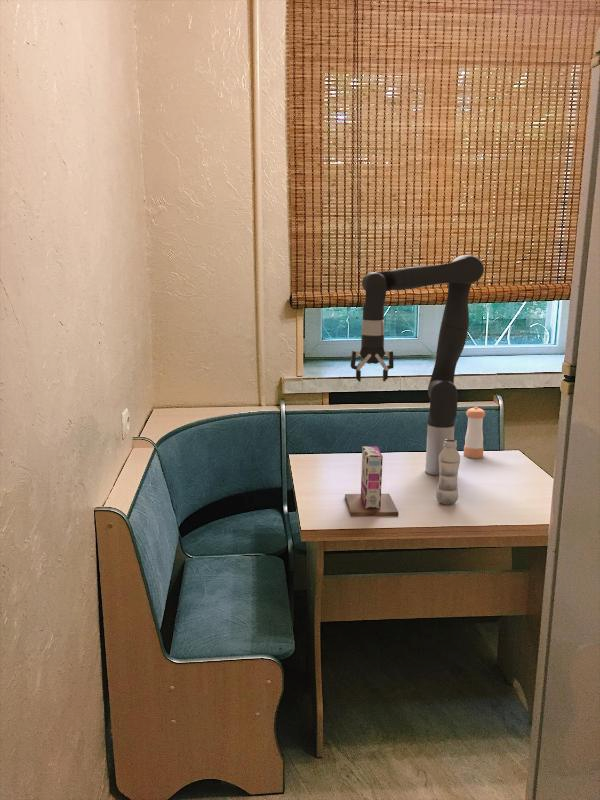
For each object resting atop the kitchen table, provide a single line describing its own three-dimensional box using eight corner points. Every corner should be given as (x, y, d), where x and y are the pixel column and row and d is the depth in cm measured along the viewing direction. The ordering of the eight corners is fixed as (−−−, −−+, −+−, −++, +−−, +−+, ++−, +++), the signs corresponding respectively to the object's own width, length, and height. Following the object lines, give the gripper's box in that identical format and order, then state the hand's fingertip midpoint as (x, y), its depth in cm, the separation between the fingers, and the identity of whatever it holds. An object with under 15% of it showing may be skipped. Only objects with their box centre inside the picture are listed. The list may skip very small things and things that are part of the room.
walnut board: (388, 497, 221) (389, 493, 221) (398, 515, 206) (398, 511, 205) (344, 497, 220) (344, 494, 220) (350, 516, 205) (350, 512, 205)
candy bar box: (381, 509, 207) (383, 455, 204) (364, 509, 207) (366, 456, 204) (376, 496, 218) (377, 445, 215) (360, 496, 218) (361, 445, 215)
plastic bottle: (433, 499, 219) (436, 438, 215) (454, 499, 220) (457, 437, 215) (439, 507, 213) (442, 443, 208) (460, 506, 213) (464, 443, 209)
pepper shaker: (464, 457, 264) (466, 408, 260) (462, 452, 271) (465, 404, 267) (483, 458, 263) (486, 409, 259) (482, 453, 270) (485, 404, 266)
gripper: (392, 332, 237) (390, 379, 241) (350, 332, 237) (349, 379, 240) (396, 334, 230) (394, 383, 233) (353, 334, 229) (351, 383, 233)
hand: (371, 381), depth 237 cm, fingers open, 8 cm apart
